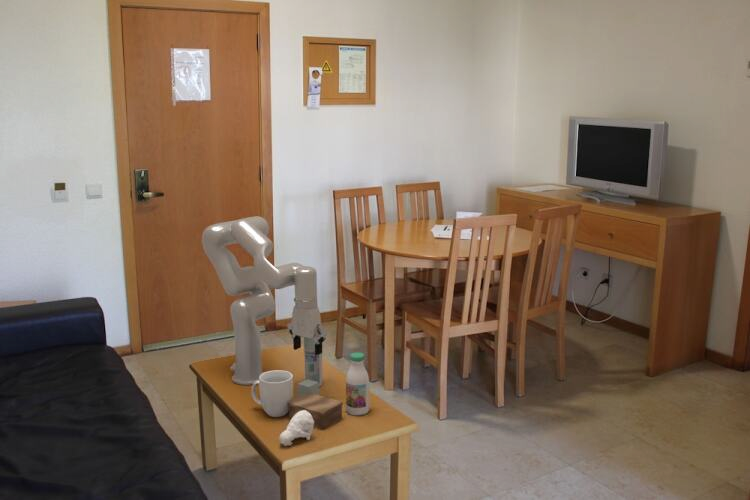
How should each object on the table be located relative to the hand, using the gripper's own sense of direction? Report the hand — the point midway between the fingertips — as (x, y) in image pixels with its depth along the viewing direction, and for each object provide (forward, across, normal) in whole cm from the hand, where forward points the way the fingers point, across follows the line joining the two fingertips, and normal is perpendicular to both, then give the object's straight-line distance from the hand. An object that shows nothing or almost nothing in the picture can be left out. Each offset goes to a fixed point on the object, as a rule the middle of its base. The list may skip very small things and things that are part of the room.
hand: (307, 351), depth 248 cm
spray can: (+18, -7, +11) cm, 22 cm away
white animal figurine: (+18, +17, -26) cm, 36 cm away
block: (+18, 0, 0) cm, 18 cm away
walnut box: (+18, +12, -11) cm, 24 cm away
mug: (+18, -2, -15) cm, 23 cm away
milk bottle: (+18, +20, +2) cm, 27 cm away
